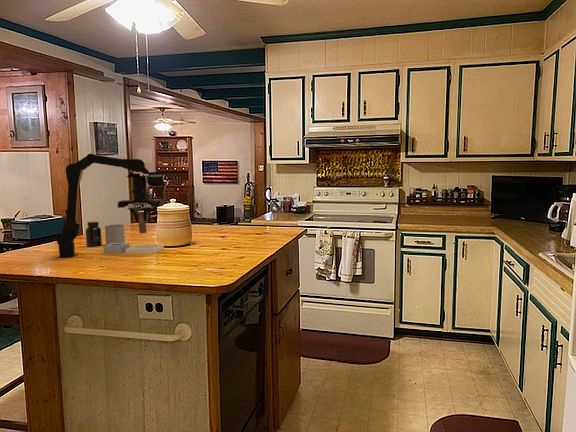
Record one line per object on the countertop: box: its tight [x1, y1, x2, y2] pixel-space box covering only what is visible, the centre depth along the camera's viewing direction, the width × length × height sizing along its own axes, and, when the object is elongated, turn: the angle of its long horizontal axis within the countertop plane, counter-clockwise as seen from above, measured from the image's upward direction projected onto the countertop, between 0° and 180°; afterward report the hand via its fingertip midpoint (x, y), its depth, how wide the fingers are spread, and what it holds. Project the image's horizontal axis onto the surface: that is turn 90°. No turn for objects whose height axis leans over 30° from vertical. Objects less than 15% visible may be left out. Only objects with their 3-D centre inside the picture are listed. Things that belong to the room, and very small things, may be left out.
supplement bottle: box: [85, 220, 103, 248], centre depth 207 cm, size 7×7×12 cm
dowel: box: [138, 211, 148, 234], centre depth 193 cm, size 3×3×9 cm
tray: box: [125, 243, 165, 254], centre depth 194 cm, size 11×13×2 cm
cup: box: [104, 223, 126, 245], centre depth 208 cm, size 8×8×10 cm
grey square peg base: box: [102, 242, 130, 254], centre depth 194 cm, size 8×8×4 cm
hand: (142, 222), depth 193 cm, fingers closed on dowel, 3 cm apart
